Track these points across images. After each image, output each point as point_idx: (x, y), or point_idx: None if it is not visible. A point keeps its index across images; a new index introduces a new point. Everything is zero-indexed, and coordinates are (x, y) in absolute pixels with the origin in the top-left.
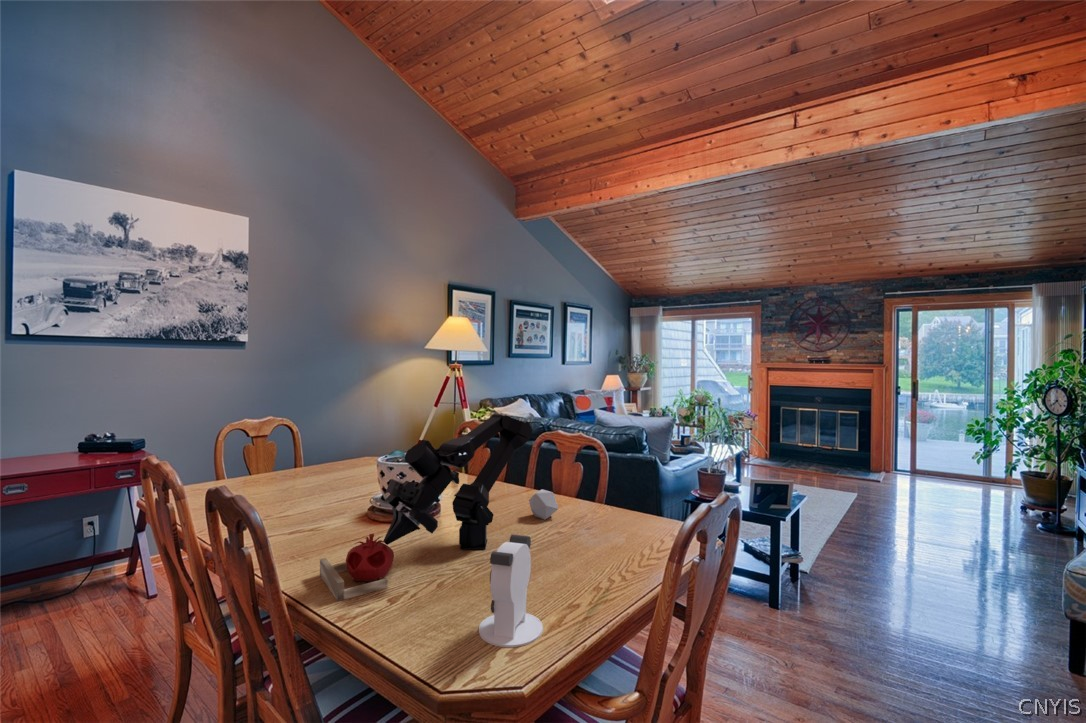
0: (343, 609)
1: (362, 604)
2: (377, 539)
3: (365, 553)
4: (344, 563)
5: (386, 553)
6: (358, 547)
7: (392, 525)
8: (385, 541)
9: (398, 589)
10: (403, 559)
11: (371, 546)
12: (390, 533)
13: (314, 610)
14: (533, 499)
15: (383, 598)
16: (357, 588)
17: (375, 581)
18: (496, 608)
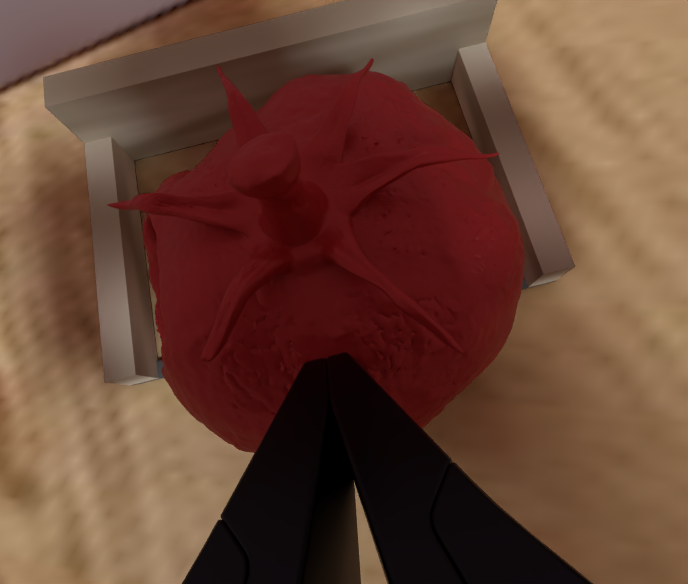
0: (12, 166)
1: (11, 246)
2: (364, 279)
3: (183, 180)
4: (506, 137)
5: (169, 376)
6: (305, 111)
7: (377, 518)
8: (300, 374)
9: (78, 446)
10: (587, 566)
11: (154, 203)
12: (265, 444)
13: (73, 60)
14: None
15: (15, 350)
16: (93, 208)
17: (124, 306)
18: None
